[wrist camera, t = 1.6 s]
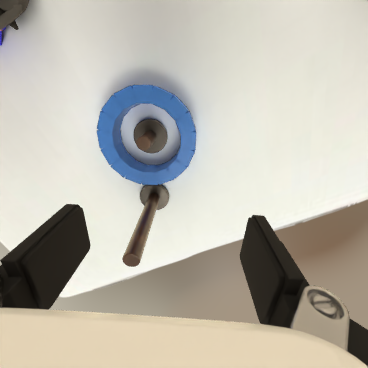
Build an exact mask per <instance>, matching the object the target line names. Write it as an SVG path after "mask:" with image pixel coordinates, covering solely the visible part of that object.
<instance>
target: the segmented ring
mask: <svg viewBox="0 0 368 368" xmlns="http://www.w3.org/2000/svg"><path fill="white" fill-rule="evenodd" d="M141 103H147V104H153V105H156V106H158V107H160V108H162V109H164V110H166V111H167V112H168V114H169V115H170V116H171V117H172V118H173V119H174V120H175V121H176V124H177V126H178V129H179V131H180V134H181V145H180V148H179V150H178V152H177V154H176V155H175V156H174V157H173V158H172V159H171V160H170V161H168V162H166V163H163V164H160V165H146V164H144V163H141V162H139V161H136V160H135V159H134V158H133V157H132V156H131V155H130V154H129V153H128V152H127V151H126V149H125V147H124V145H123V143H122V139H121V132H120V128H121V125H122V121H123V117H124V116H125V115H126V114H127V113H128V111H129V110H130V109H131V108H133V107H135V106H137V105H139V104H141ZM97 129H98V130H97V135H98V141H99V146H100V148H101V151H102V153H103V155H104V156H105V158H106V160H107V162H108V163H109V165H111V167H112V168H113V169H114V170H115V171H117V172H118V173H119V174H120V175H121V176H123V177H125V176H126V177H125V178H126V179H128V180H131V181H133V182H136V183H139V184H141V183H142V185H158V183H159V185H160V184H163V183H165V182H168V181H171V180H174V178H177V177H178V176H179V175H180V174H181V173H182V172H183V171H184V170H185V169H186V168H187V167H188V166H189V163H190V161H191V159H192V157H193V155H194V153H195V146H196V129H195V125H194V122H193V120H192V117H191V114H190V111H188V108H187V107H186V106H185V105H184V104H183V103H182V102H181V100H180V99H179V98H178V97H177V96H175V95H174V94H172V93H170V92H168V91H166V90H164V89H162V88H159V87H157V86H153V85H133V86H128V87H126V88H124V89H122V90H120V91H118V92H116V93H114V95H112V96H111V97H110V99H109V100H108V101H107V103H106V104H105V105H104V107H103V108H102V111H101V112H100V116H99V121H98V126H97Z"/></svg>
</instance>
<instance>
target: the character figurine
mask: <svg viewBox="0 0 368 368" xmlns="http://www.w3.org/2000/svg"><path fill="white" fill-rule="evenodd" d="M28 3H29V0H0V45H2V30H5V29H6V26H7V25H10V26H11V27H13V28H14V29H16V30H18V29H19V28H18V26H17V24H16V22H15V19H16V18H17V17H19V16H20V15H21V14H22V13H23V12H24V11H25V10H26V8H27V6H28Z"/></svg>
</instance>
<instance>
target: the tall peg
mask: <svg viewBox="0 0 368 368" xmlns="http://www.w3.org/2000/svg"><path fill="white" fill-rule="evenodd" d="M140 199H141V202H142V204H143V205H144V206H145V207H144V209H143V211H142V214H141V216H140V218H139V221H138V223H137V225H136V228H135V230H134V232H133V235H132V237H131V239H130V242H129V244H128V246H127V249H126V251H125V253H124V256H123V262H124V263H125V264H126V265H128V266H131V267H134V266H137V265H138V264H139V263H140V260H141V257H142V254H143V251H144V247H145V244H146V241H147V238H148V234H149V231H150V228H151V225H152V222H153V218H154V215H155V212H156V210H159V209H162V208H163V207H165V206H166V205H167V203H168V200H169V193H168V191H167V189H166V188H165V187H164V186H162V185H161V184H160V185H159V184H158V185H146V186H144V187H143V189H142V191H141V193H140Z"/></svg>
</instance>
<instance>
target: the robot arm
mask: <svg viewBox="0 0 368 368" xmlns="http://www.w3.org/2000/svg"><path fill="white" fill-rule="evenodd" d="M89 249H90V241H89V236H88V231H87V226H86V222H85V217H84V212H83V209H82V208H81V207H80V206H79V205H75V204H66V205H65V206H64V207H63V208H61V209H60V210H59V211H58V212H57V213H56V214H54V215H53V216H52V217H51V218H50V219H48V220H47V221H46V222H45V223H44V224H43V225H41V226H40V227H39V228H38V229H37V230H36V231H34V232H33V233H32V234H31V235H30V236H28V237H27V238H26V239H25V240H24V241H23V242H21V243H20V244H19V245H18V246H17V247H16V248H14V249H13V250H12V251H11V252H10V253H8V255H6V256H5V257H4V258H3V259H1V260H0V261H1V263H2V265H1V266H0V368H368V330H367V329H365V328H364V327H362V326H361V325H359V324H358V323H356V322H354V321H353V320H351V319H350V317H349V312H348V310H347V308H346V306H345V305H344V303H342V301H341V300H340V299H339V298H338V297H337V296H336V295H335V294H333V293H332V292H330V291H328V290H327V289H324V288H322V287H319V286H315V285H314V286H310V285H309V284H308V282H307V281H306V279H305V277H304V276H303V274H302V273H301V271H300V270H299V268H298V266H297V265H296V263H295V262H294V260H293V259H292V257H291V255H290V254H289V252H288V251H287V249H286V248H285V246H284V244H283V243H282V242H281V241H279V239H278V237H277V236H276V234H275V232H274V231H273V229H272V228H271V226H270V224H269V223H268V221H267V220H266V218H265V217H264V216H259V215H253V216H252V218H249V219H248V223H247V227H246V231H245V235H244V239H243V244H242V248H241V252H240V260H241V263H242V267H243V270H244V273H245V276H246V280H247V283H248V286H249V289H250V292H251V296H252V299H253V302H254V305H255V309H256V312H257V315H258V319H259V321H260V323H261V324H252V323H240V322H230V321H216V320H202V319H188V318H174V317H160V316H142V315H129V314H114V313H98V312H81V311H64V310H48V309H49V308H50V307H51V306H52V305H53V303H54V302H55V300H56V299H57V297H58V296H59V294H60V293H61V292H62V290H63V289H64V287H65V286H66V284H67V283H68V281H69V280H70V278H71V277H72V275H73V274H74V272H75V271H76V269H77V268H78V266H79V265H80V263H81V262H82V260H83V259H84V257H85V256H86V254H87V253H88V251H89ZM263 324H264V325H263Z"/></svg>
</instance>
